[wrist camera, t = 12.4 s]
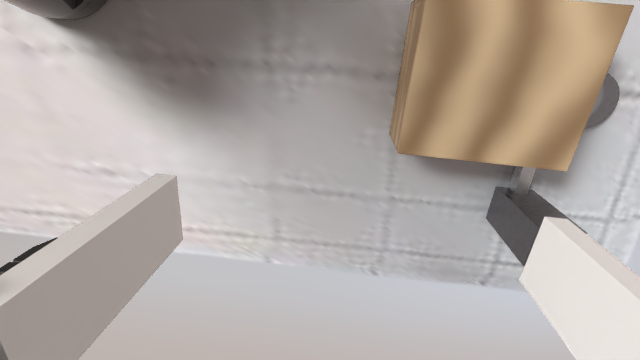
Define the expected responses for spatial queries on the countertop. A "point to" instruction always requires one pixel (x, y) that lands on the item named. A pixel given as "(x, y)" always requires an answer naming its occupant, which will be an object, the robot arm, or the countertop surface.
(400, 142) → the shelf
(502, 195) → the tool
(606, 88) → the disc
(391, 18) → the countertop surface
